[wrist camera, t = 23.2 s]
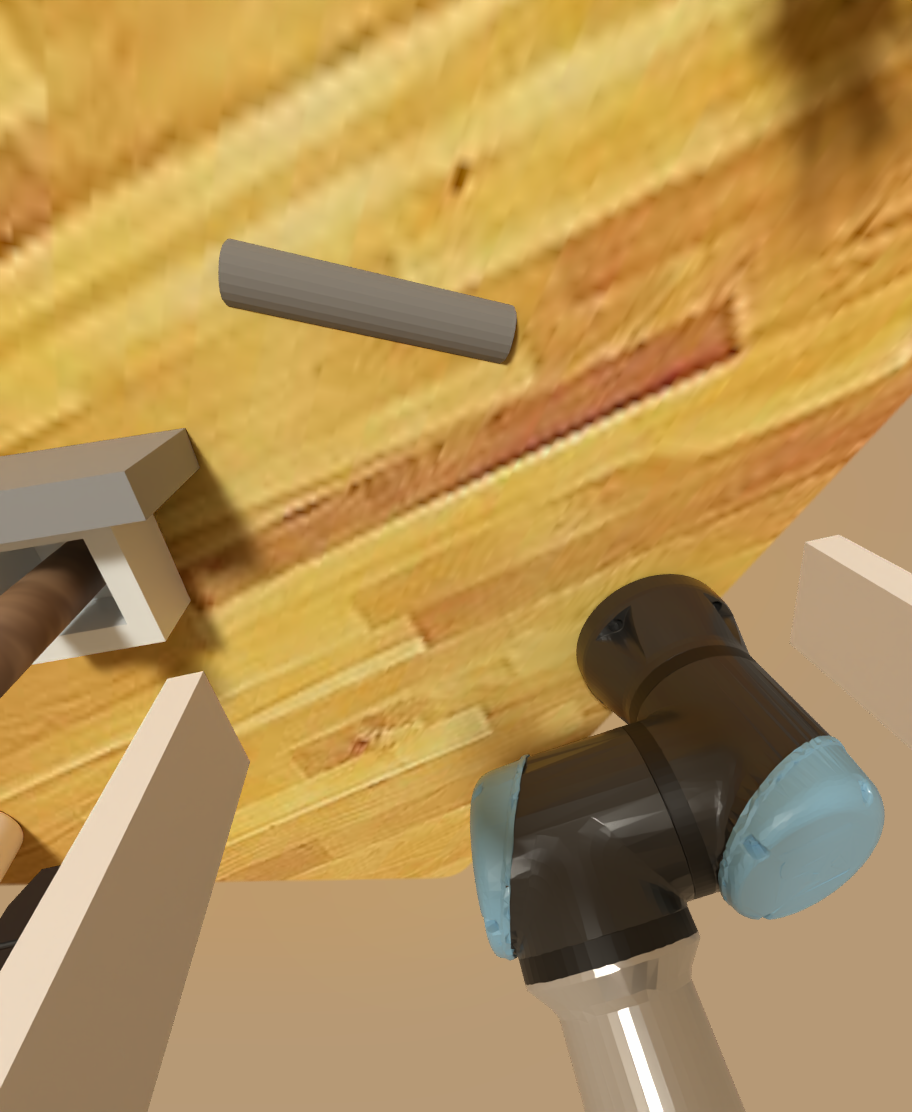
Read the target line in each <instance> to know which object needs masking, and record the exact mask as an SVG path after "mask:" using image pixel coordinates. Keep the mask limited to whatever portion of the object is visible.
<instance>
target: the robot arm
mask: <svg viewBox="0 0 912 1112" xmlns="http://www.w3.org/2000/svg"><path fill="white" fill-rule="evenodd" d="M790 644H791V645H792V646H793V647H794V648H796V649H797V650H798V651H799V652H800V653H801V654H802V655H804V656H805V657H806V658H807V659H808V660H809V661H810V662H812V663H813V664H814V665H815V666H816V667H817V668H819V669H820V670H821V671H822V672H823V673H824V674H826V675H827V676H828V677H829V678H830V679H831V680H832V681H833V682H835V683H836V684H837V685H838V686H839V687H840V688H842V689H843V690H844V691H845V692H846V693H847V694H848V695H849V696H851V697H852V698H853V699H854V700H855V701H856V702H858V703H859V704H860V705H861V706H862V707H863V708H864V709H866V710H867V711H868V712H869V713H870V714H871V715H872V716H874V717H875V718H876V719H877V720H878V721H879V722H880V723H882V724H883V725H884V726H885V727H886V728H887V729H889V730H890V731H891V732H892V733H893V734H894V735H895V736H897V737H898V738H899V739H900V740H901V741H902V742H903V743H905V744H906V745H907V746H908V747H909V748H910V749H911V750H912V574H911V573H910V572H908V571H906V570H904V569H902V568H900V567H898V566H896V565H895V564H893V563H891V562H889V561H887V560H885V559H884V558H881V557H880V556H878V555H876V554H874V553H872V552H871V551H869V550H866V549H865V548H863V547H861V546H859V545H857V544H855V543H854V542H852V541H850V540H848V539H846V538H844V537H842V536H841V535H836V536H831V537H826V538H822V539H817V540H812V541H808V542H805V546H804V553H803V560H802V566H801V573H800V579H799V586H798V593H797V599H796V606H795V612H794V619H793V625H792V632H791V638H790ZM577 662H578V666H579V669H580V672H581V674H582V676H583V678H584V679H585V681H586V683H587V685H588V687H589V689H590V690H591V692H592V693H593V694H594V695H595V697H596V698H597V699H599V700H600V701H601V702H602V703H603V704H605V705H606V706H607V707H608V708H609V709H610V710H612V711H613V712H614V713H615V714H616V715H617V716H619V717H620V718H621V719H622V720H623V721H625V722H626V723H627V724H628V725H625V726H622V727H619V728H615V729H613V730H610V731H607V732H604V733H601V734H597V735H594V736H591V737H588V738H585V739H582V740H579V741H576V742H573V743H570V744H566V745H563V746H560V747H557V748H554V749H551V750H548V751H545V752H542V753H539V754H535V755H532V756H530V755H529V754H527V755H523V756H522V757H521V758H520V760H518V761H515V762H513V763H510V764H508V765H505V766H502V767H500V768H497V769H495V770H492V771H489V772H488V773H486V774H485V775H483V776H482V777H481V778H480V779H479V781H478V782H477V784H476V786H475V788H474V791H473V794H472V800H471V809H470V834H471V849H472V860H473V868H474V875H475V882H476V889H477V895H478V900H479V905H480V910H481V913H482V916H483V917H484V922H485V927H486V933H487V937H488V940H489V943H490V945H491V948H492V950H493V951H494V953H495V954H496V955H497V956H498V957H500V958H506V959H508V960H513V959H515V958H517V956H518V958H519V961H520V965H521V969H522V973H523V976H524V981H525V985H526V988H527V991H529V992H530V993H531V994H532V995H534V996H535V997H536V998H538V999H539V1000H540V1001H542V1002H543V1003H544V1004H545V1005H547V1006H548V1007H549V1008H551V1009H552V1010H553V1011H554V1013H555V1014H556V1015H557V1016H558V1018H559V1019H560V1023H561V1026H562V1030H563V1033H564V1037H565V1041H566V1044H567V1048H568V1052H569V1055H570V1059H571V1063H572V1066H573V1070H574V1073H575V1077H576V1081H577V1084H578V1088H579V1091H580V1095H581V1098H582V1102H583V1105H584V1109H585V1112H745V1109H744V1107H743V1104H742V1102H741V1099H740V1097H739V1094H738V1092H737V1089H736V1087H735V1084H734V1082H733V1080H732V1077H731V1075H730V1072H729V1070H728V1068H727V1065H726V1063H725V1060H724V1057H723V1055H722V1053H721V1050H720V1048H719V1045H718V1043H717V1040H716V1038H715V1035H714V1033H713V1030H712V1028H711V1025H710V1023H709V1021H708V1018H707V1016H706V1013H705V1011H704V1008H703V1006H702V1003H701V1001H700V998H699V996H698V993H697V991H696V989H695V986H694V984H693V981H692V979H691V969H692V964H693V960H694V957H695V954H696V950H697V947H698V943H699V940H700V935H699V932H698V930H697V928H696V926H695V923H694V921H693V919H692V916H691V914H690V912H689V909H688V907H687V902H688V901H691V900H693V899H697V898H700V897H703V896H707V895H710V894H713V893H716V892H721V895H722V896H723V899H724V900H725V901H726V902H727V903H728V904H729V905H731V906H732V907H733V908H734V909H735V910H736V911H737V912H738V913H739V914H741V915H743V916H745V917H748V918H751V919H760V918H762V917H764V918H766V919H777V918H781V917H785V916H788V915H791V914H794V913H797V912H799V911H801V910H804V909H806V908H808V907H810V906H812V905H813V904H816V903H817V902H819V901H821V900H822V899H824V898H825V897H827V896H828V895H830V894H831V893H833V892H834V891H835V890H837V889H838V888H839V887H840V886H842V885H843V884H844V883H845V882H846V881H848V880H849V879H850V878H851V877H852V876H853V875H854V874H855V873H856V872H857V871H858V869H859V868H860V867H861V866H862V865H863V864H864V863H865V862H866V860H867V859H868V858H869V856H870V855H871V853H872V852H873V850H874V848H875V847H876V845H877V843H878V841H879V838H880V835H881V833H882V829H883V825H884V806H883V802H882V799H881V796H880V794H879V792H878V790H877V788H876V787H875V785H874V784H873V783H872V781H871V780H870V779H869V778H868V777H867V776H866V774H865V773H864V772H863V771H862V770H861V768H860V767H859V766H858V765H857V764H856V763H855V762H854V760H853V759H852V758H851V757H850V756H849V754H848V753H847V752H846V750H845V748H844V746H843V745H842V744H841V743H840V741H838V739H836V738H835V737H831V736H830V735H829V734H828V733H827V732H826V731H825V730H824V729H823V728H822V727H821V726H820V725H819V724H818V723H817V722H816V721H815V720H814V719H813V718H812V717H811V716H810V715H809V714H808V713H807V712H806V711H805V710H804V709H803V708H802V707H801V706H800V705H799V704H798V703H797V702H796V701H795V700H794V699H793V698H792V697H791V696H790V695H789V694H788V693H787V692H786V691H785V690H784V689H783V688H782V687H781V686H780V685H779V684H778V683H777V682H776V681H775V680H774V679H773V678H772V677H771V676H770V675H769V674H768V673H767V672H766V671H765V670H764V669H763V668H762V667H761V666H760V665H759V664H758V663H757V662H756V661H755V660H754V659H753V658H752V657H751V656H750V655H749V653H748V650H747V648H746V645H745V643H744V641H743V638H742V636H741V633H740V631H739V628H738V626H737V624H736V621H735V619H734V617H733V614H732V612H731V610H730V609H729V607H728V606H727V605H726V603H725V602H724V601H723V600H722V599H721V598H720V597H719V596H718V595H717V594H716V593H715V592H714V591H713V590H711V589H710V588H709V587H708V586H707V585H705V584H704V583H702V582H701V581H699V580H696V579H694V578H691V577H688V576H683V575H674V574H665V575H656V576H650V577H646V578H643V579H640V580H637V581H634V582H632V583H630V584H628V585H625V586H624V587H622V588H620V589H618V590H617V591H615V592H614V593H612V594H611V595H610V596H608V597H607V598H606V599H605V600H604V601H603V602H601V603H600V604H599V605H598V606H597V607H596V609H595V610H594V611H593V612H592V613H591V615H590V616H589V618H588V619H587V621H586V622H585V624H584V626H583V628H582V630H581V633H580V636H579V639H578V643H577ZM249 763H250V761H249V759H248V757H247V755H246V753H245V751H244V749H243V747H242V745H241V743H240V741H239V739H238V737H237V735H236V733H235V732H234V730H233V728H232V726H231V724H230V722H229V720H228V718H227V716H226V714H225V712H224V710H223V708H222V706H221V704H220V702H219V700H218V698H217V696H216V695H215V693H214V691H213V689H212V687H211V685H210V683H209V681H208V679H207V677H206V675H205V673H204V671H201V672H197V673H192V674H187V675H183V676H178V677H173V678H169V679H167V680H166V682H165V684H164V685H163V687H162V689H161V691H160V692H159V694H158V696H157V698H156V699H155V701H154V703H153V705H152V706H151V708H150V710H149V712H148V713H147V715H146V717H145V719H144V720H143V722H142V724H141V726H140V727H139V729H138V731H137V733H136V734H135V736H134V738H133V740H132V742H131V743H130V745H129V747H128V749H127V750H126V752H125V754H124V756H123V757H122V759H121V761H120V763H119V764H118V766H117V768H116V770H115V771H114V773H113V775H112V777H111V778H110V780H109V782H108V784H107V785H106V787H105V789H104V791H103V792H102V794H101V796H100V798H99V799H98V801H97V803H96V805H95V806H94V808H93V810H92V812H91V813H90V815H89V817H88V819H87V820H86V822H85V824H84V826H83V827H82V829H81V831H80V833H79V834H78V836H77V838H76V840H75V841H74V843H73V845H72V847H71V848H70V850H69V852H68V854H67V855H66V857H65V859H64V861H63V862H62V864H61V865H59V866H55V867H50V868H46V869H42V870H41V871H40V872H39V873H38V874H37V875H36V876H35V877H34V878H33V880H32V881H31V882H30V883H29V884H28V885H27V886H26V887H25V888H24V889H23V890H22V891H21V893H20V894H19V895H18V896H17V897H16V898H15V899H14V900H13V901H12V902H11V903H10V904H9V906H8V907H7V909H6V910H5V912H4V913H3V915H2V917H1V918H0V1112H147V1111H148V1107H149V1104H150V1101H151V1097H152V1094H153V1091H154V1087H155V1084H156V1080H157V1077H158V1073H159V1070H160V1066H161V1063H162V1060H163V1056H164V1053H165V1049H166V1046H167V1043H168V1039H169V1036H170V1033H171V1029H172V1026H173V1022H174V1019H175V1016H176V1012H177V1009H178V1005H179V1002H180V999H181V995H182V992H183V988H184V985H185V981H186V978H187V975H188V971H189V968H190V964H191V961H192V957H193V954H194V951H195V947H196V944H197V941H198V937H199V934H200V930H201V927H202V924H203V920H204V916H205V913H206V910H207V907H208V903H209V900H210V896H211V893H212V889H213V886H214V883H215V879H216V876H217V872H218V869H219V866H220V862H221V859H222V855H223V852H224V849H225V845H226V842H227V838H228V835H229V832H230V828H231V825H232V821H233V818H234V814H235V811H236V808H237V804H238V801H239V797H240V794H241V791H242V787H243V784H244V780H245V777H246V774H247V770H248V767H249Z"/></svg>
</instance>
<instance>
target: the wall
mask: <svg viewBox="0 0 912 1112" xmlns="http://www.w3.org/2000/svg"><path fill="white" fill-rule="evenodd" d="M199 468H200V467H199V464H198V461H197V459H196V456H195V453H194V451H193V448H192V445H191V443H190V440H189V437H188V435H187V432H186V429H185V428H183V429H176V430H170V431H163V432H157V433H150V434H144V435H137V436H131V437H124V438H118V439H112V440H105V441H99V442H92V443H86V444H79V445H73V446H66V447H60V448H53V449H47V450H41V451H34V452H28V453H21V454H15V455H8V456H2V457H0V544H4V543H10V542H16V541H22V540H29V539H35V538H41V537H47V536H53V535H59V534H65V533H72V532H78V531H84V530H90V529H96V528H102V527H109V526H115V525H121V524H127V523H133V522H139V521H145V520H147V519H148V518H149V517H150V516H151V515H152V514H153V513H154V512H155V511H156V510H157V509H158V508H159V507H160V506H161V505H162V504H163V503H164V502H165V501H166V500H167V499H168V498H169V497H170V496H171V495H173V494H174V493H175V492H176V491H177V490H178V489H179V488H180V487H181V486H182V485H183V484H184V483H185V482H186V481H187V480H188V479H189V478H190V477H191V476H192V475H193V474H194V473H195V472H196V471H197V470H198V469H199Z"/></svg>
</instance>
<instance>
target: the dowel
mask: <svg viewBox="0 0 912 1112" xmlns="http://www.w3.org/2000/svg"><path fill="white" fill-rule="evenodd" d="M105 585H106V582H105V580H104V578H103V576H102V574H101V572H100V570H99V568H98V567H97V565H96V563H95V561H94V559H93V557H92V555H91V553H90V551H89V549H88V547H87V545H86V543H85V541H84V539H78V540H72V541H67V542H66V543H64V544H63V545H62V546H61V547H60V548H58V549H57V550H56V551H55V552H53V553H52V554H51V555H50V556H48V557H47V558H46V559H45V560H44V561H42V562H41V563H40V564H39V565H37V566H36V567H35V568H34V569H32V570H31V571H30V572H29V573H28V574H26V575H25V576H24V577H23V578H21V579H20V580H19V581H18V582H16V583H15V584H14V585H13V586H11V587H10V588H9V589H8V590H7V591H5V592H4V593H3V594H2V595H0V698H1V697H2V696H3V695H4V694H5V693H6V692H7V690H8V689H9V688H10V687H11V686H12V685H13V684H14V683H15V682H16V681H17V680H18V679H19V678H20V676H21V675H22V674H23V673H24V672H25V671H26V670H27V669H28V668H29V667H30V666H31V665H32V664H33V662H34V661H35V660H36V659H37V658H38V657H39V656H40V655H41V654H42V653H43V652H44V651H45V650H46V648H47V647H48V646H49V645H50V644H51V643H52V642H53V641H54V640H55V639H56V638H57V637H58V636H59V634H60V633H61V632H62V631H63V630H64V629H65V628H66V627H67V626H68V625H69V624H70V623H71V622H72V620H73V619H74V618H75V617H76V616H77V615H78V614H79V613H80V612H81V611H82V610H83V609H84V608H85V606H86V605H87V604H88V603H89V602H90V601H91V600H92V599H93V598H94V597H95V596H96V595H97V594H98V592H99V591H100V590H101V589H102V588H103V587H104V586H105Z"/></svg>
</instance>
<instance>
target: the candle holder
mask: <svg viewBox="0 0 912 1112" xmlns="http://www.w3.org/2000/svg"><path fill="white" fill-rule="evenodd" d="M22 842H23V831H22V829H21V827H20V826H19V824H18V823H17V822H16V821H15V820H14V819H13V818H11V817H10V816H8V815H7V814H5V813H3V812H1V811H0V883H1V881H2V879H3V877H4V876H5V874H6V872H7V870H8V869H9V867H10V865H11V863H12V861H13V860H14V858H15V856H16V854H17V853H18V851H19V849H20V847H21V845H22Z"/></svg>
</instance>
